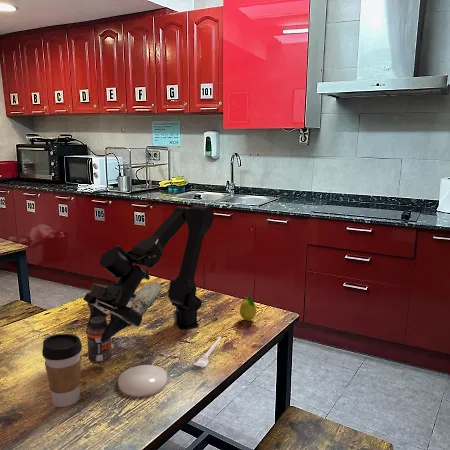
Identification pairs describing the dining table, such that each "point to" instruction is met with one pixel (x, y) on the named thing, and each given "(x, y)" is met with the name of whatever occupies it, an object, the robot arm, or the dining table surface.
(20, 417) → the dining table surface
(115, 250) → the robot arm
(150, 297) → the elongated rock
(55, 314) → the dining table surface
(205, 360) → the fork
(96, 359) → the supplement bottle
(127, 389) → the beige flattened disc
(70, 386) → the coffee cup
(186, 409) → the dining table surface
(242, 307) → the lemon
